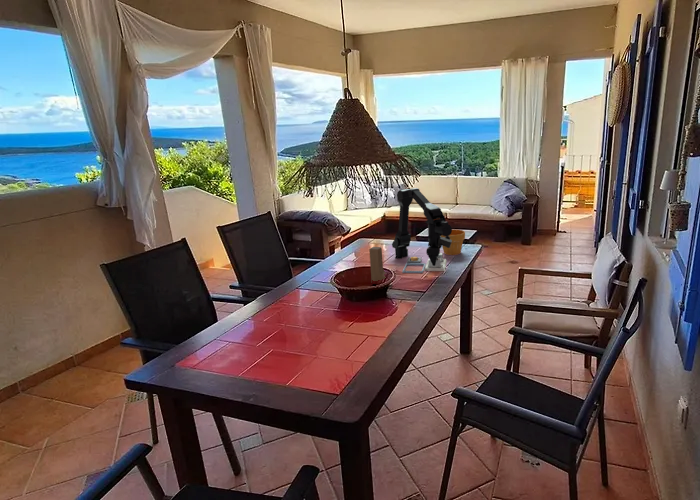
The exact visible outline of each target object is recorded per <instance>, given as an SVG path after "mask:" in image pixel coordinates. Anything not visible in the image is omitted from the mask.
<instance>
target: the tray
mask: <svg viewBox="0 0 700 500" xmlns="http://www.w3.org/2000/svg"><path fill="white" fill-rule="evenodd" d="M426 264H427V262H425V263H424V262H421V263H407V262H406V263H405V265H404V267H403V269H402V274H423V273H424V271H425V267H426ZM407 266H423V267H422V269H421V270H406V269H407V268H408V267H407Z"/></svg>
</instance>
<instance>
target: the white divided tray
mask: <svg viewBox="0 0 700 500" xmlns="http://www.w3.org/2000/svg"><path fill="white" fill-rule="evenodd" d="M428 260H429V258H428V259H427V261H426V266H425V268H424V271H425V272H445V271H446V266H447V262H448V261H447V258H443V262H441V268H429V262H428Z"/></svg>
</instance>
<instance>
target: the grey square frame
mask: <svg viewBox="0 0 700 500" xmlns="http://www.w3.org/2000/svg"><path fill="white" fill-rule="evenodd" d="M422 260H423V259H422V257H418V261H411V257H408V258H407V260H406V263H422Z"/></svg>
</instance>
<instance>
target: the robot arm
mask: <svg viewBox="0 0 700 500" xmlns="http://www.w3.org/2000/svg"><path fill="white" fill-rule="evenodd" d="M420 190H421V189H420V188H419V187H413V188H406V189H399V190H398V191H397V193H396V198H397V199H396V200H397V203H398V204H399V219H398V230H397V232H396V233H395V236H394V239H393V242H392V243H391V247H392V248H393V249H395V250H394V254H395V257H394V259H397V260H399V259H400V260H402V258H407V257H408V256H409V248H408V247H410V244H411V241H412V240H411V239H412V235H411V233H409V231H408V229H409V216H410V215H409V214H410V205H411V204H412V203H413V200H414V202H416V203H417V205H418V206H419V207H420V208H421V209H422V210H423V211H422V212H423V215H424V217H425V218H426V221H425V224H427V230H428V231H427V233H428V234H427V238H428V239H427V240H428V242H427V243H428V244H427V246H428V247H427V248H426V255H427V256H428V259H429V258H430V260H431V262H432V265H433V266H435V264H436V258H437V256H438V255H439V254H440V253H441V248H443V247H442V246H445V247H447V248H450V246H451V243H452V240H450V236H449V235H450V234H451V232H452V229H453V228H452V226H451V225H450V224H449V222H448V221H447V220H446V217H445V215H444V213H443V211H442V209H441V208H440V207H439V206H438V205H436V204H433V203H431V201H430V200H428V198H426V196H425V195H424V194H423V193H422V192H421V191H420ZM441 235H443V236H446V237H445V238H444V237H441Z"/></svg>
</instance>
